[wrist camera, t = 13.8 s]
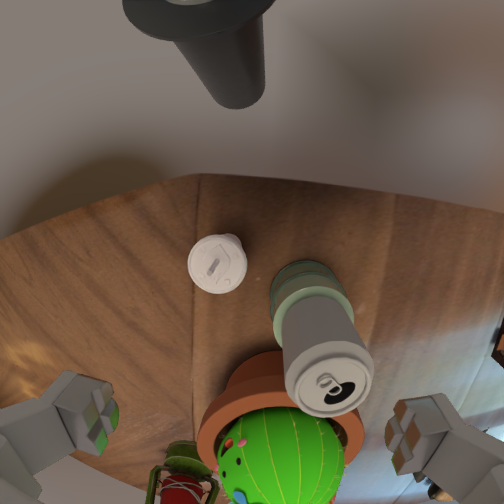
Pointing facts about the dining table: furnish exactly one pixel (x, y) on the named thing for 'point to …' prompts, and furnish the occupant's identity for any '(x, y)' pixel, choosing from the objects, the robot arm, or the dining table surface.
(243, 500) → the potted cactus
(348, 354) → the can
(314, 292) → the cup stack
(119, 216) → the dining table surface
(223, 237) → the smoothie
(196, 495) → the lantern
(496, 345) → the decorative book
